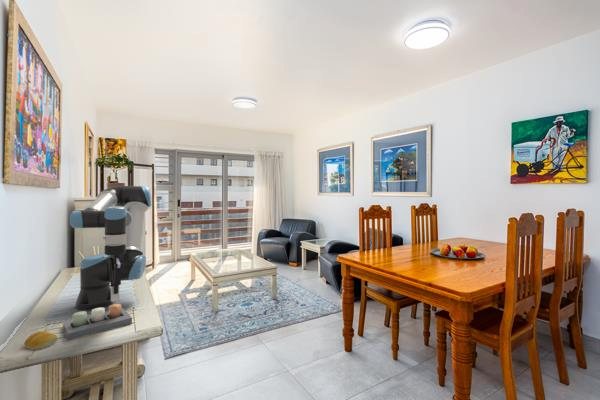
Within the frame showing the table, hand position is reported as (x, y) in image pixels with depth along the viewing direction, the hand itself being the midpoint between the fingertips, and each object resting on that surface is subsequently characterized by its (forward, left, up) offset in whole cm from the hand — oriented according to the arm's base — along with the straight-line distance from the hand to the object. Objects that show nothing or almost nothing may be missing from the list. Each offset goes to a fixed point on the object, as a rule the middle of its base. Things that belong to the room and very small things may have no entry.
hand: (115, 300), depth 124 cm
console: (0, -6, -9) cm, 10 cm away
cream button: (0, -6, -6) cm, 9 cm away
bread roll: (+4, -24, -9) cm, 26 cm away
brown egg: (0, 0, -6) cm, 6 cm away
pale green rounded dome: (0, -12, -6) cm, 13 cm away
